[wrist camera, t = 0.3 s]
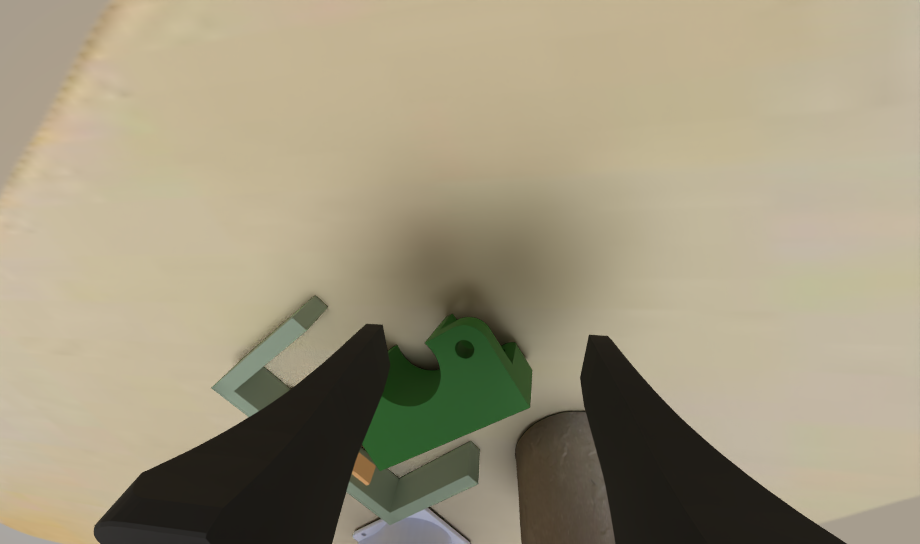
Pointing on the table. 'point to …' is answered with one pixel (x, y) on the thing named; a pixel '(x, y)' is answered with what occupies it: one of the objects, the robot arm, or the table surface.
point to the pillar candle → (562, 484)
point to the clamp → (447, 392)
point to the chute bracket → (367, 484)
